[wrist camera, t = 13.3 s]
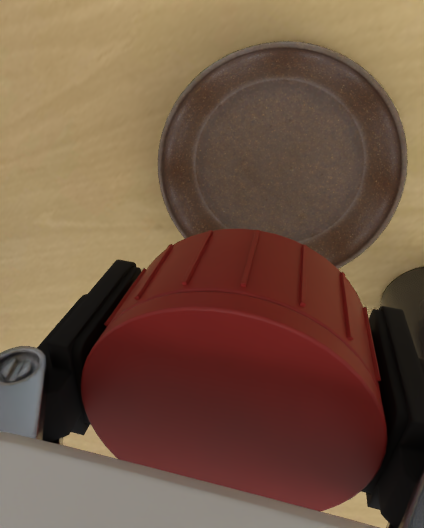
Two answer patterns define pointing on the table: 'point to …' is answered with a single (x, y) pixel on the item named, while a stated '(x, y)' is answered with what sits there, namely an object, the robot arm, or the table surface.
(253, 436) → the lid
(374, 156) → the saucer
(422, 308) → the thermos
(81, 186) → the table surface
